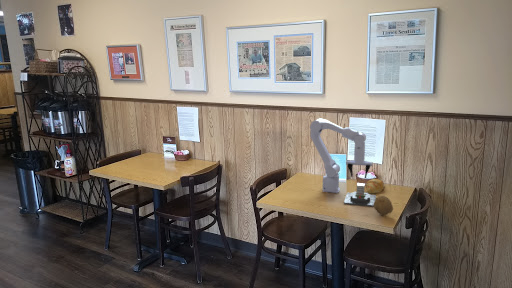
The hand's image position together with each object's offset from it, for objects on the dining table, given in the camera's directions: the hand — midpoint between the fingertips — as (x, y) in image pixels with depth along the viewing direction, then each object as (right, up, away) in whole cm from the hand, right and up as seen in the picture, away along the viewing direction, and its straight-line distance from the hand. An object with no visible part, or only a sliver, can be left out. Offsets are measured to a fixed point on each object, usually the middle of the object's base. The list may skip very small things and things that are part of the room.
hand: (358, 177), depth 220 cm
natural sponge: (+5, -17, -27) cm, 32 cm away
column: (-1, -10, -8) cm, 13 cm away
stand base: (-1, -12, -8) cm, 14 cm away
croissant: (+12, -9, +9) cm, 17 cm away
